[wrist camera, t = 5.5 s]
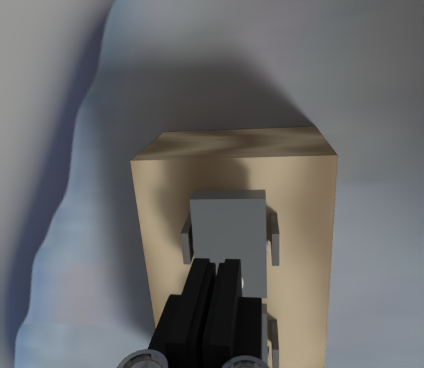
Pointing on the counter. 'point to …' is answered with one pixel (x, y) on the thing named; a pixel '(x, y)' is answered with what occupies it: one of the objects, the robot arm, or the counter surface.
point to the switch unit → (275, 222)
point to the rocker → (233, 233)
